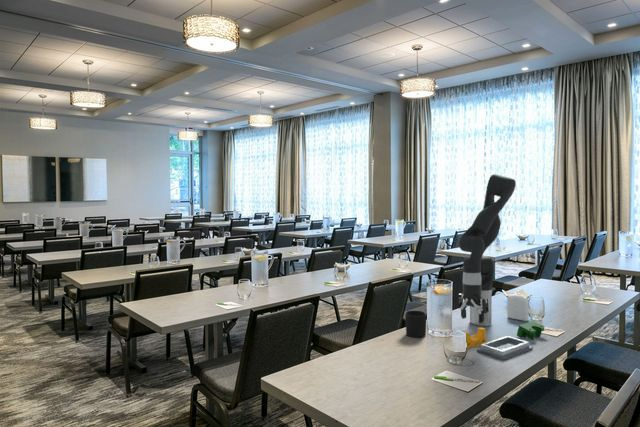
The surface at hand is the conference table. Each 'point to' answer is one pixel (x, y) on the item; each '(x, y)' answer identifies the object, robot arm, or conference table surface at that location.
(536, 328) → the clamp
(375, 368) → the conference table surface
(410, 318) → the pen holder
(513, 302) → the white napkin holder
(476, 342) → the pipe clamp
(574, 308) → the conference table surface
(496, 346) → the grey metal tray
